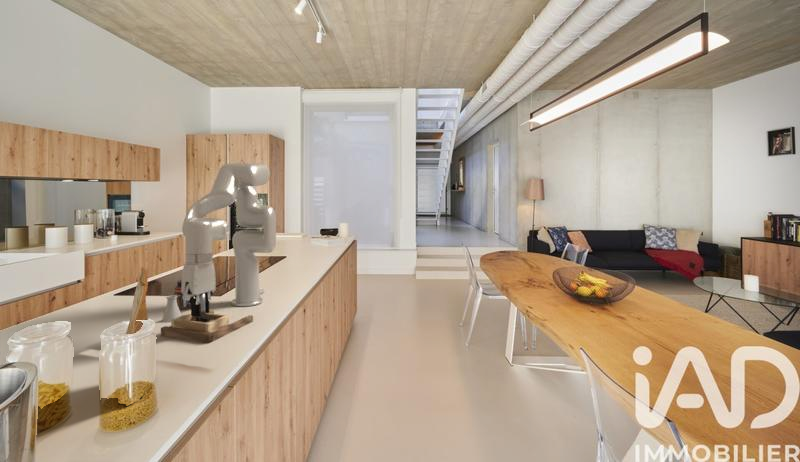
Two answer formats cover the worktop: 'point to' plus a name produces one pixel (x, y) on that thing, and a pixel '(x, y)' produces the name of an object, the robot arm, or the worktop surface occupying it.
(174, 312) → the flask
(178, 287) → the supplement bottle
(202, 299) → the handle peg
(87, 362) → the worktop surface
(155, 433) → the worktop surface
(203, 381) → the worktop surface
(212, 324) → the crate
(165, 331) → the bay
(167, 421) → the worktop surface
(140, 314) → the pancake mix bag
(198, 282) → the robot arm
